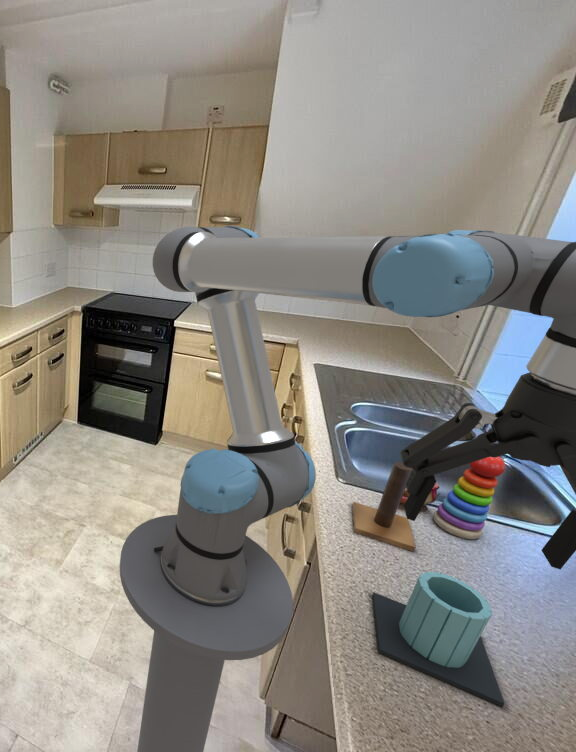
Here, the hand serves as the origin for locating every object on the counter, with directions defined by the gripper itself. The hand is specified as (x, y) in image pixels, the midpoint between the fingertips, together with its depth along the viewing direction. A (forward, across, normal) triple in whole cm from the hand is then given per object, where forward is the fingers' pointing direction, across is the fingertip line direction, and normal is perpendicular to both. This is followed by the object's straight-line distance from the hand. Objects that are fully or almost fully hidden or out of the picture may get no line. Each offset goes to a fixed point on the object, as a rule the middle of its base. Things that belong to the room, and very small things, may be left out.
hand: (475, 535), depth 51 cm
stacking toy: (+27, +17, +42) cm, 53 cm away
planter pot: (+25, +5, +6) cm, 26 cm away
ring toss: (+27, +2, +34) cm, 44 cm away
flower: (+28, +9, +46) cm, 55 cm away
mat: (+26, +5, +6) cm, 27 cm away
